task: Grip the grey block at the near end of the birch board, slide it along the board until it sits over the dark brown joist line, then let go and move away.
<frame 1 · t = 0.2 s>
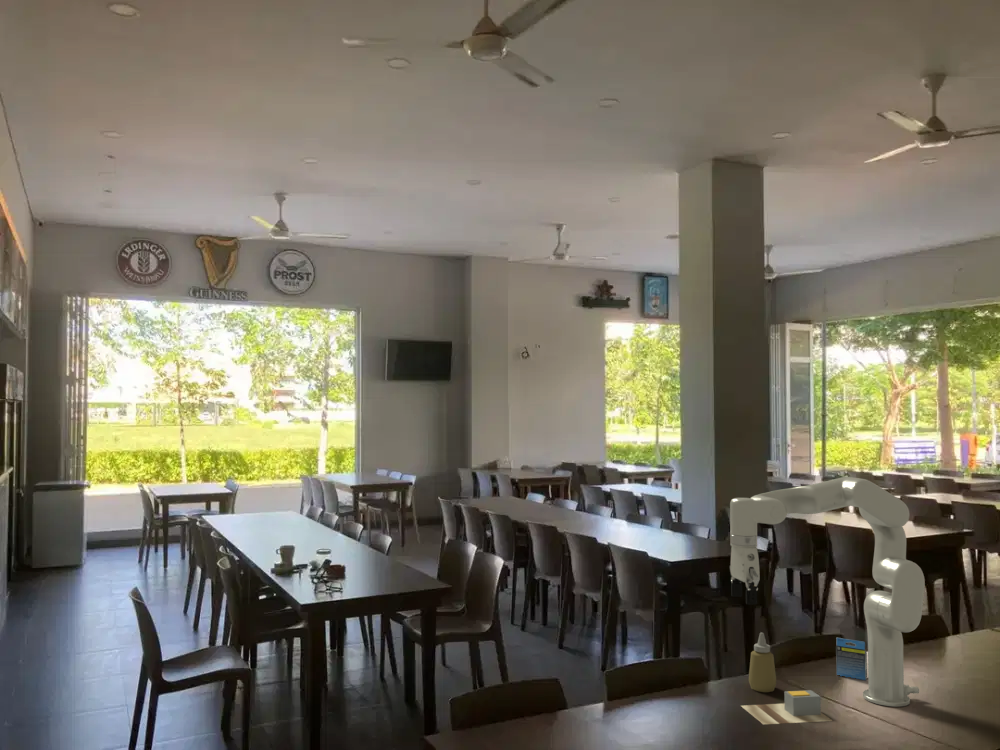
hand: (744, 600, 233), 31 cm above the table, tool pointing down, fingers open, 9 cm apart
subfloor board: (785, 718, 224), on the table
label tape box: (852, 677, 260), on the table
grey block: (802, 712, 224), point 1 cm above the table, touching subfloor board
squeeze bottle: (762, 694, 244), on the table
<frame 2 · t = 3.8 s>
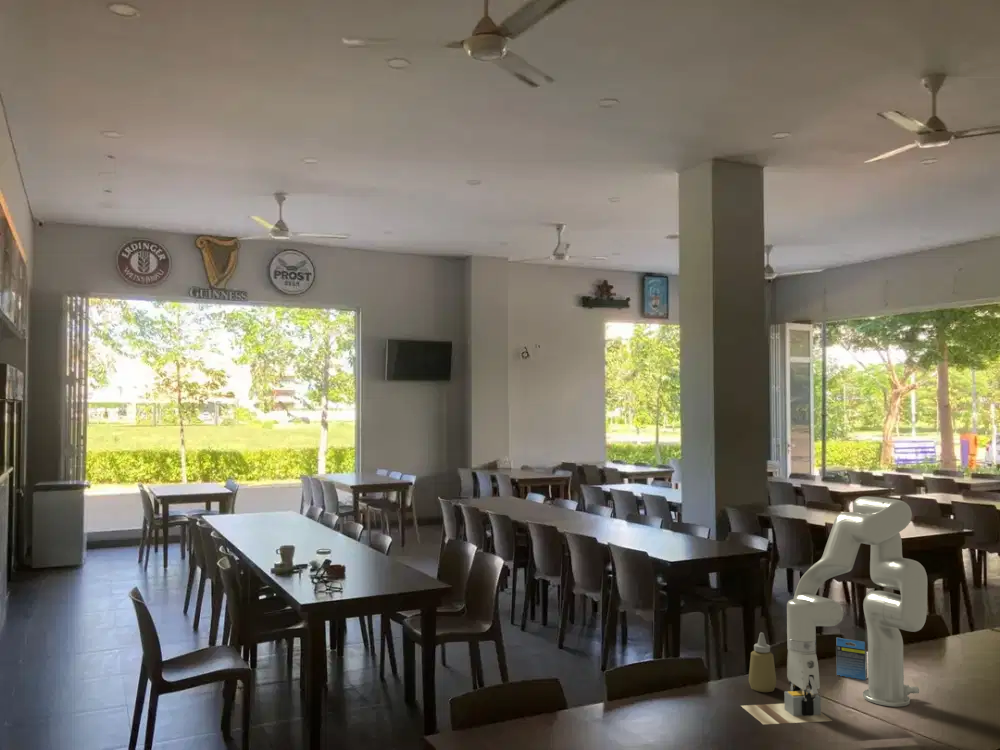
hand: (802, 710, 224), 2 cm above the table, tool pointing down, fingers closed on grey block, 5 cm apart
grey block: (802, 712, 224), point 2 cm above the table, touching gripper, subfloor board
everything else where it was.
when the fingers open (2 cm above the table, at t = 8.0 s): grey block stays where it is, resting on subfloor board.
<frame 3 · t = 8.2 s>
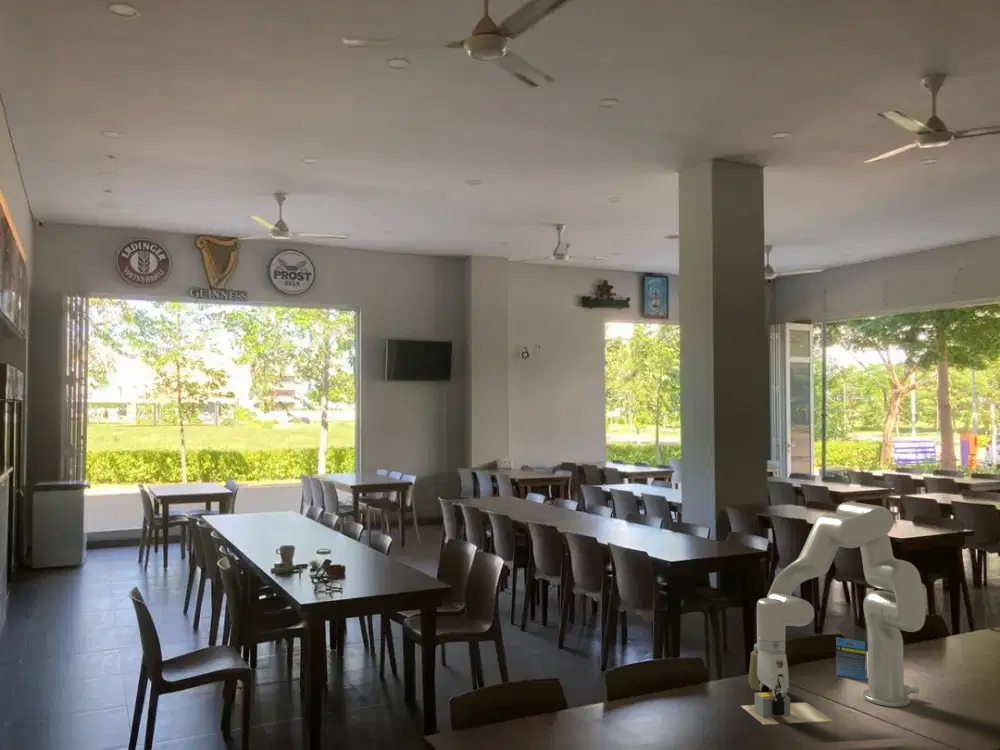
hand: (772, 709, 223), 3 cm above the table, tool pointing down, fingers open, 6 cm apart
grey block: (772, 713, 223), point 1 cm above the table, touching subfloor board
everything else where it was.
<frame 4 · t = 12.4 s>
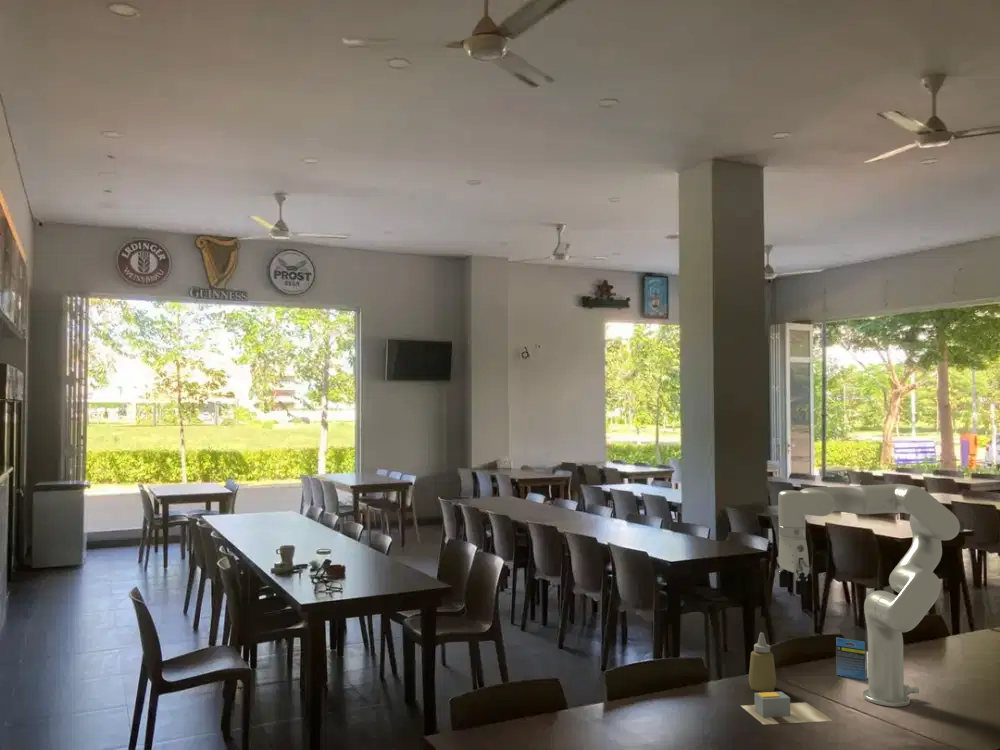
hand: (792, 590, 238), 32 cm above the table, tool pointing down, fingers open, 9 cm apart
nothing on the table moved.
at the end: grey block 0.1 cm from the target spot, point 1.5 cm above the table; grey block tilted 0°; the gripper is holding nothing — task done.
